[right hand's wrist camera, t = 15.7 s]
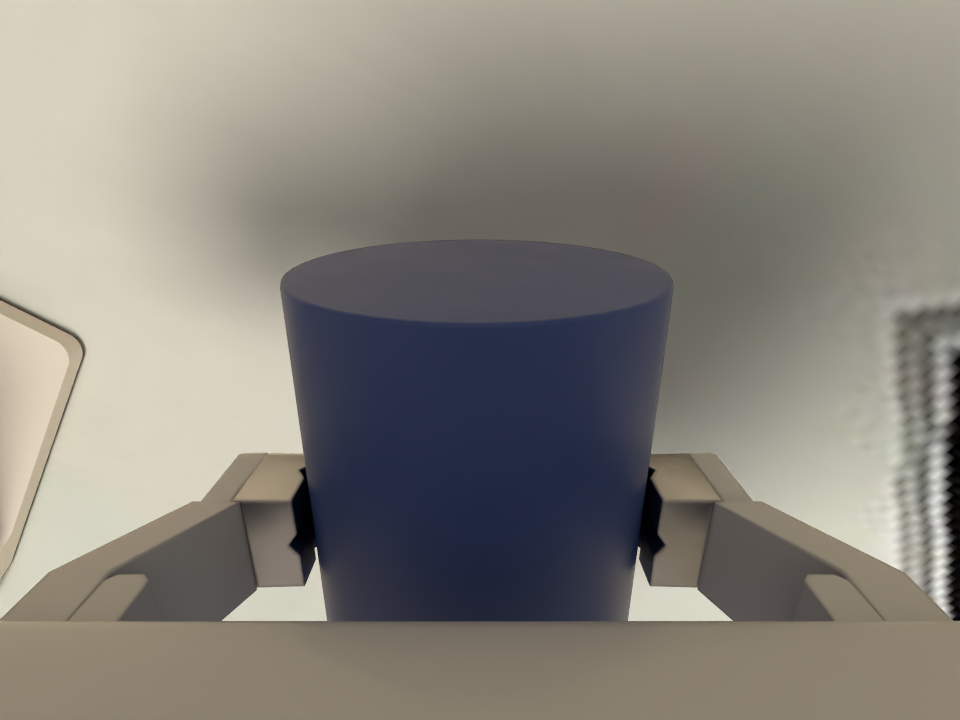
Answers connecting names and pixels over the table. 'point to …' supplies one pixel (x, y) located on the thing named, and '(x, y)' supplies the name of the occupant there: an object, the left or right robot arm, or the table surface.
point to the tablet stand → (28, 412)
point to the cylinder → (477, 426)
